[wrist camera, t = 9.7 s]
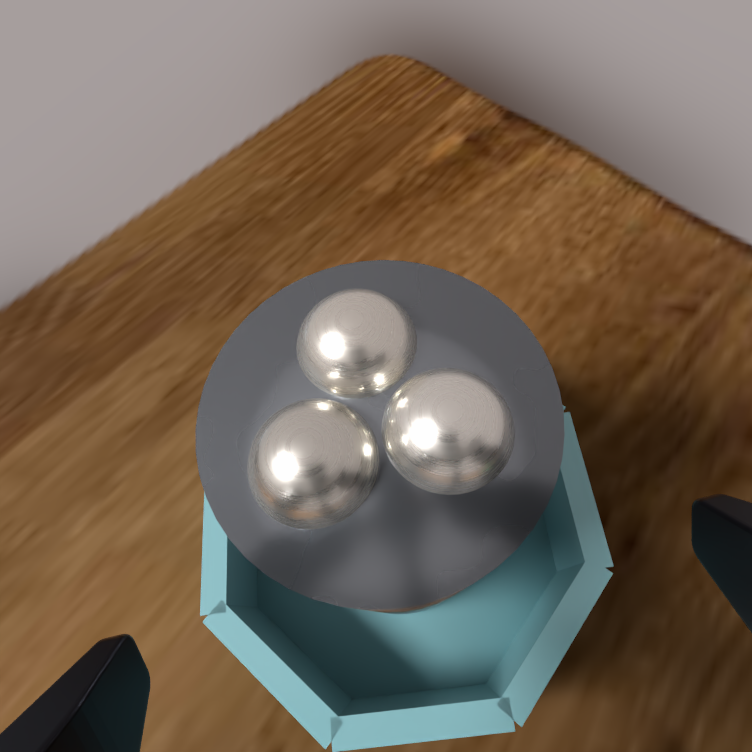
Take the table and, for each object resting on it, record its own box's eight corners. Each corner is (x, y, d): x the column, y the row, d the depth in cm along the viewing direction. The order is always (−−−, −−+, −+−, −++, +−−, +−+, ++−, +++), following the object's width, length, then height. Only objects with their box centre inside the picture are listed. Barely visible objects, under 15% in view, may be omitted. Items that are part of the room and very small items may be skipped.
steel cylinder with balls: (457, 638, 18) (538, 679, 6) (298, 584, 19) (102, 527, 7) (493, 475, 21) (604, 271, 8) (350, 435, 22) (265, 204, 10)
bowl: (433, 807, 17) (438, 866, 13) (180, 556, 21) (124, 540, 17) (621, 502, 21) (672, 474, 17) (376, 336, 25) (368, 281, 21)
